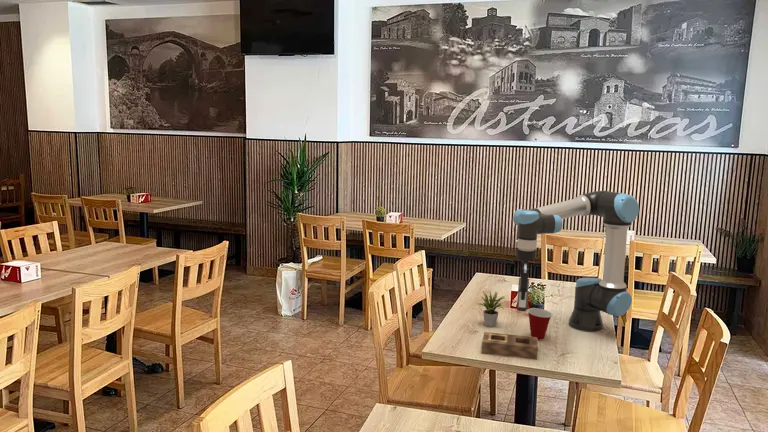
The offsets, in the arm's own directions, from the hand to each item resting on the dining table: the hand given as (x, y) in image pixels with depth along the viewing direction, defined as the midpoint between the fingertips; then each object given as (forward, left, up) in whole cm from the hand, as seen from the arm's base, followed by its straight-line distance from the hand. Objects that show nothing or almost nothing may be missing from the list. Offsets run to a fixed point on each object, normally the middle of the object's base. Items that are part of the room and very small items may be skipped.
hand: (521, 305), depth 245 cm
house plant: (+13, -29, -20) cm, 38 cm away
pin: (0, 0, -2) cm, 2 cm away
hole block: (+4, 0, -20) cm, 21 cm away
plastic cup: (-8, -20, -20) cm, 30 cm away
